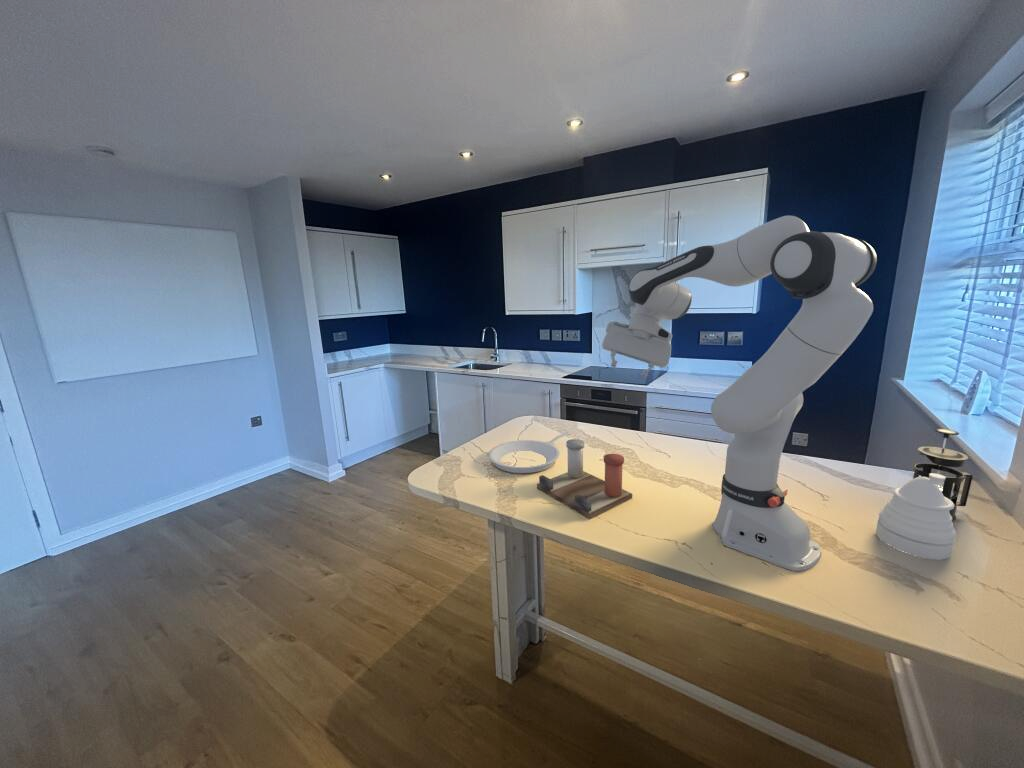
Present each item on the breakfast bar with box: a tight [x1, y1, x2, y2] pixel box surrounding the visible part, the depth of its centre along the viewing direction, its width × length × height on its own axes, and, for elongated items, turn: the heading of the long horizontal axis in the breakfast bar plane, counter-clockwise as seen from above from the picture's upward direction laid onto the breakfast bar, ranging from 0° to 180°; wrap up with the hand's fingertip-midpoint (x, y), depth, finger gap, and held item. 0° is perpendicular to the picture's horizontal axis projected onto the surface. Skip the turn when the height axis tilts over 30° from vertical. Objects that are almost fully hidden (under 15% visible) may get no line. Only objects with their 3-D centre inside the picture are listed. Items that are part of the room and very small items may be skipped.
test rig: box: [536, 470, 633, 520], centre depth 124 cm, size 23×18×4 cm
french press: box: [912, 428, 973, 522], centre depth 105 cm, size 12×9×23 cm
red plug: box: [603, 453, 625, 497], centre depth 119 cm, size 6×6×11 cm
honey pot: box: [875, 472, 957, 560], centre depth 94 cm, size 13×13×18 cm
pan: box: [488, 431, 571, 475], centre depth 153 cm, size 26×39×5 cm
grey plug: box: [565, 438, 585, 478], centre depth 131 cm, size 6×6×11 cm
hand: (628, 371), depth 122 cm, fingers open, 8 cm apart
